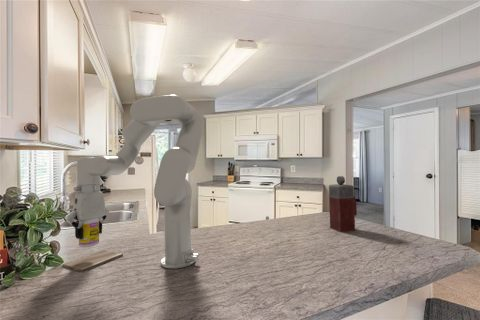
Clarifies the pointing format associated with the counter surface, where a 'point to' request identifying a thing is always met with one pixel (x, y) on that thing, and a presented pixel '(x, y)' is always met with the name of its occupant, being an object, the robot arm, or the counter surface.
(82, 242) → the supplement bottle
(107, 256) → the board
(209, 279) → the counter surface
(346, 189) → the red canister
